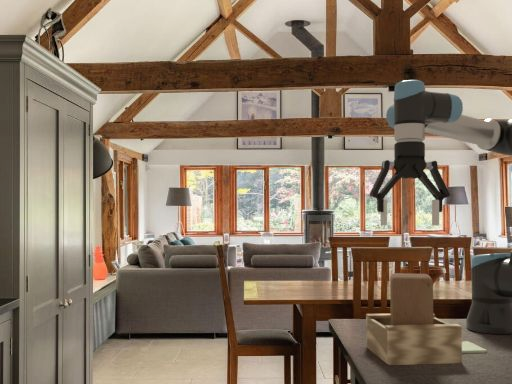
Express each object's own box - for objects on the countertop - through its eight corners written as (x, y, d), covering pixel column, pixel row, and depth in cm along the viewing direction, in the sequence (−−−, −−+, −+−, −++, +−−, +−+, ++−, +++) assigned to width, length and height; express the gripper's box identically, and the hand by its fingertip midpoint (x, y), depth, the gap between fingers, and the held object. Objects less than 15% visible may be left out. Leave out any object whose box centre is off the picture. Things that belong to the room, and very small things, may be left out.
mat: (468, 343, 160) (468, 341, 160) (486, 352, 150) (486, 350, 150) (433, 344, 159) (433, 342, 159) (449, 353, 149) (449, 351, 149)
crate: (431, 345, 158) (431, 312, 158) (461, 362, 140) (461, 325, 140) (366, 347, 156) (366, 313, 156) (388, 365, 138) (388, 327, 138)
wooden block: (434, 360, 142) (433, 277, 142) (391, 358, 144) (391, 277, 144) (430, 351, 152) (429, 273, 152) (390, 349, 154) (390, 272, 154)
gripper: (449, 144, 154) (450, 225, 154) (357, 142, 152) (357, 224, 151) (463, 141, 147) (463, 225, 146) (366, 139, 144) (366, 225, 143)
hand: (409, 225), depth 148 cm, fingers open, 13 cm apart
